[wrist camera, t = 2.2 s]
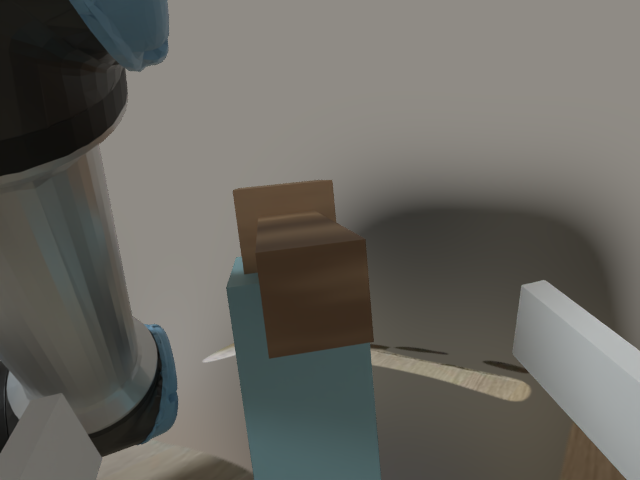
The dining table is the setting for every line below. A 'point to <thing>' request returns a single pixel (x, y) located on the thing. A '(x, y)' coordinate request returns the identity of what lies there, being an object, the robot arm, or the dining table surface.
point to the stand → (302, 400)
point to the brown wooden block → (304, 267)
